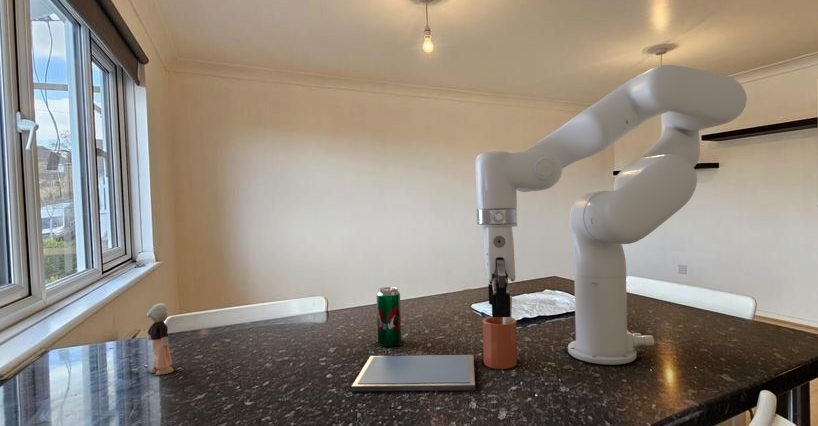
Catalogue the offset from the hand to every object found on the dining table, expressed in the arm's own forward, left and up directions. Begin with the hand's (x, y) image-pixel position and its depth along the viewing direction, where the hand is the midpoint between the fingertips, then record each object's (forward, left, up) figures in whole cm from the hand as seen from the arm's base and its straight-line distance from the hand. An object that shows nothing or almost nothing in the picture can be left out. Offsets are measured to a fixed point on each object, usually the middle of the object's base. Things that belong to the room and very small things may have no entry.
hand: (499, 310), depth 80 cm
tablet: (+15, +5, -10) cm, 19 cm away
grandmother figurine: (+64, +2, -10) cm, 65 cm away
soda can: (+23, -12, -10) cm, 28 cm away
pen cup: (0, 0, -10) cm, 10 cm away
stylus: (-1, 0, -9) cm, 9 cm away
